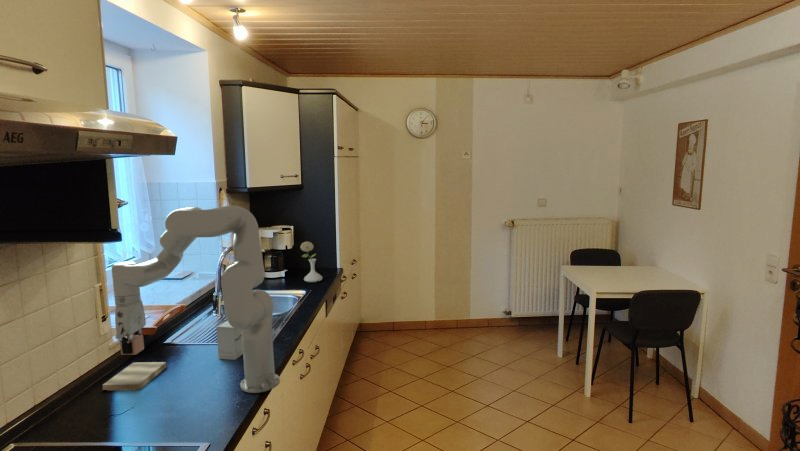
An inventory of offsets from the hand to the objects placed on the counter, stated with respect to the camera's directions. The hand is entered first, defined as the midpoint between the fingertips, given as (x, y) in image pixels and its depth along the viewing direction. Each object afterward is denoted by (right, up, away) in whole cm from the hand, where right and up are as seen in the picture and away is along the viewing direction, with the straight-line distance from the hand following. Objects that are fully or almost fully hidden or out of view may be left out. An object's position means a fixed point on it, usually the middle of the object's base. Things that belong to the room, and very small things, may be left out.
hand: (132, 349), depth 159 cm
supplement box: (+27, -7, +19) cm, 34 cm away
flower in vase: (+37, +8, +128) cm, 134 cm away
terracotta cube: (0, -1, 0) cm, 1 cm away
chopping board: (0, -10, +1) cm, 10 cm away
